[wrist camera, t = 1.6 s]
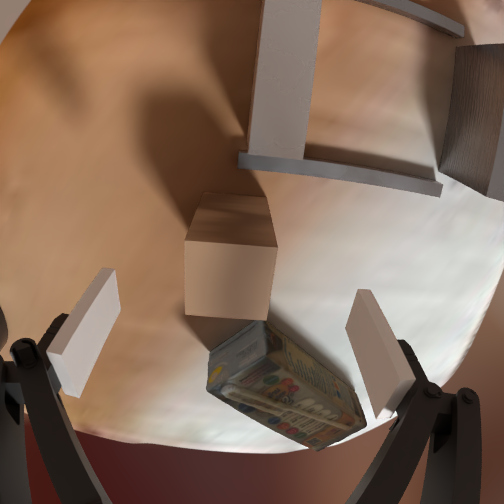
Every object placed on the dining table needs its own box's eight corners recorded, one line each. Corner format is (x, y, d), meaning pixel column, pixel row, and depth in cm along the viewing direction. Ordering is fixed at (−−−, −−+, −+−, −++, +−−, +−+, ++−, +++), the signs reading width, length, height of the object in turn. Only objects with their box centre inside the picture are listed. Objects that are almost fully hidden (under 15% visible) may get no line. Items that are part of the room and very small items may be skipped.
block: (201, 248, 27) (185, 314, 19) (203, 192, 25) (184, 240, 17) (259, 253, 27) (266, 320, 19) (266, 197, 25) (277, 247, 17)
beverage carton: (263, 309, 30) (268, 359, 25) (359, 389, 37) (372, 429, 31) (206, 349, 33) (201, 398, 27) (310, 416, 40) (317, 456, 34)
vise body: (237, 165, 24) (235, 190, 18) (258, -30, 17) (264, -70, 10) (456, 198, 25) (501, 228, 19) (480, 39, 18) (531, 37, 12)
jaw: (246, 138, 23) (248, 154, 17) (262, -8, 18) (270, -44, 11) (286, 143, 23) (302, 160, 17) (302, -2, 18) (324, -35, 12)
